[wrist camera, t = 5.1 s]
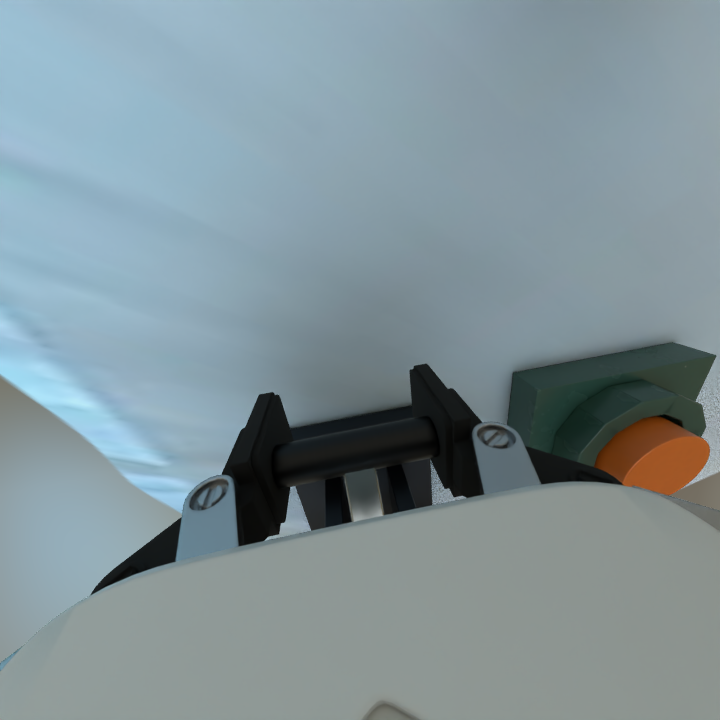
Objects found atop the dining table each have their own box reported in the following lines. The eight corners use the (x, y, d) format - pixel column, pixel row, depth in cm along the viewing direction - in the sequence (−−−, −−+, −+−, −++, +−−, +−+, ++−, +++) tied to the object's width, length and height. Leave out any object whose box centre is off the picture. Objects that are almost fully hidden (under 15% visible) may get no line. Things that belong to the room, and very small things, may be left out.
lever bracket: (282, 430, 17) (189, 853, 5) (422, 403, 17) (620, 739, 6) (319, 537, 21) (312, 887, 10) (428, 514, 22) (544, 823, 10)
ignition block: (673, 342, 18) (762, 368, 14) (633, 446, 21) (696, 488, 18) (512, 372, 17) (563, 408, 14) (501, 473, 21) (538, 522, 17)
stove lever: (282, 436, 10) (263, 458, 8) (419, 409, 11) (440, 423, 8) (338, 740, 10) (335, 853, 8) (473, 706, 11) (510, 806, 8)
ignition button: (684, 408, 15) (725, 428, 14) (656, 470, 17) (690, 493, 16) (603, 424, 15) (637, 446, 13) (585, 485, 17) (612, 510, 15)
